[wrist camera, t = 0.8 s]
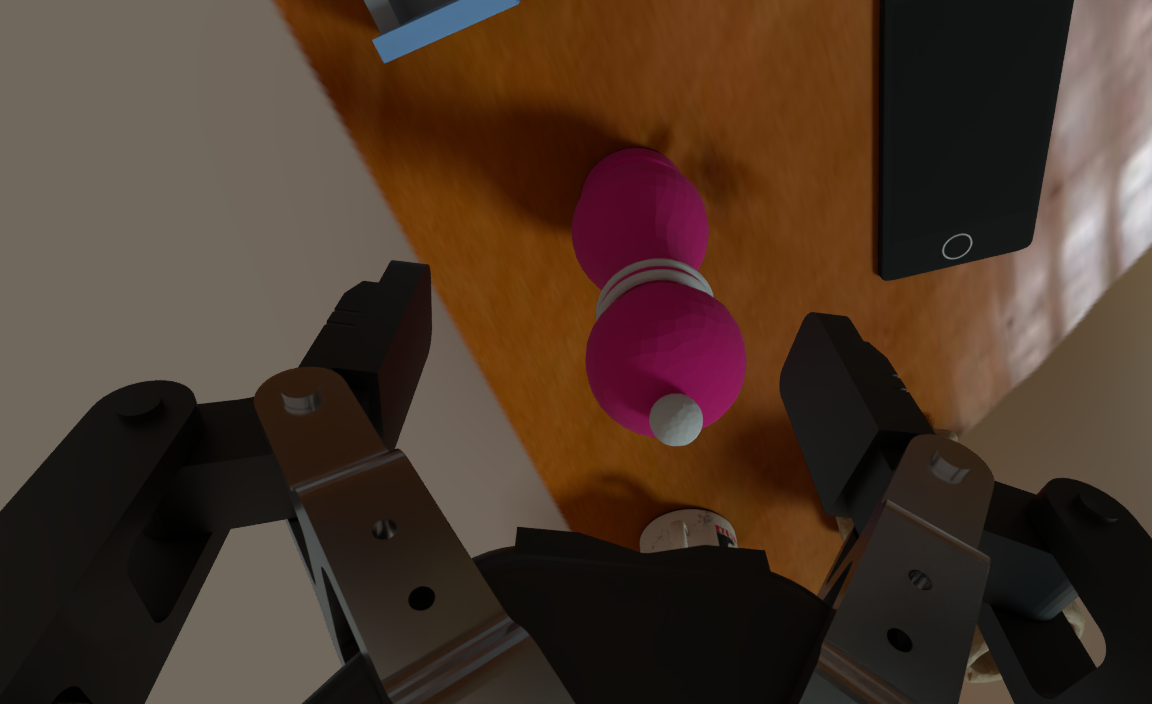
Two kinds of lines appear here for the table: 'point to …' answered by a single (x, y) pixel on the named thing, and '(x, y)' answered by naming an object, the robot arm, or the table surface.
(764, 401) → the table surface
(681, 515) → the teacup with lid
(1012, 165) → the cell phone
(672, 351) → the pepper mill
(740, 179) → the table surface
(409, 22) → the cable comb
